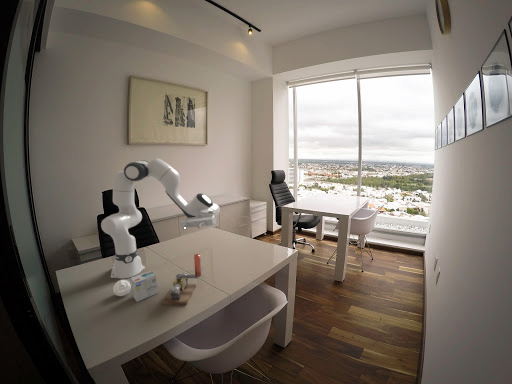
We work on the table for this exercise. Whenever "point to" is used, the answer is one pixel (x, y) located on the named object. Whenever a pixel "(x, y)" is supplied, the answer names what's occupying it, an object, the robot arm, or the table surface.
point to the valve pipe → (178, 287)
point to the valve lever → (197, 269)
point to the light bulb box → (144, 285)
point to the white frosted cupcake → (121, 287)
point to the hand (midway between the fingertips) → (190, 227)
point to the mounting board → (184, 296)
